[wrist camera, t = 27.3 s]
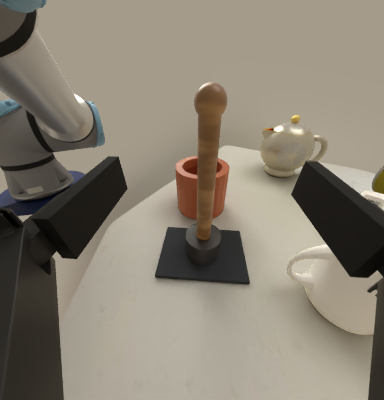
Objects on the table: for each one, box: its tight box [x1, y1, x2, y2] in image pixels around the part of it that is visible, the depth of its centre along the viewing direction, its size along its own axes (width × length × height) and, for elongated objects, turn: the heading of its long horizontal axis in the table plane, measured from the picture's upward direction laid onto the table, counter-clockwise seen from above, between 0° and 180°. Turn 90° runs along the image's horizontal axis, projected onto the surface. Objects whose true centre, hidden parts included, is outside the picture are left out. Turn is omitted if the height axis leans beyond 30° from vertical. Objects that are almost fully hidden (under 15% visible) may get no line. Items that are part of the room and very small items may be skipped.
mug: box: [287, 245, 383, 335], centre depth 20 cm, size 9×12×11 cm
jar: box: [176, 156, 229, 220], centre depth 36 cm, size 11×11×10 cm
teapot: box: [261, 115, 328, 177], centre depth 48 cm, size 18×14×16 cm
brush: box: [186, 82, 227, 266], centre depth 21 cm, size 6×6×24 cm
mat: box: [155, 227, 250, 284], centre depth 28 cm, size 14×10×1 cm
